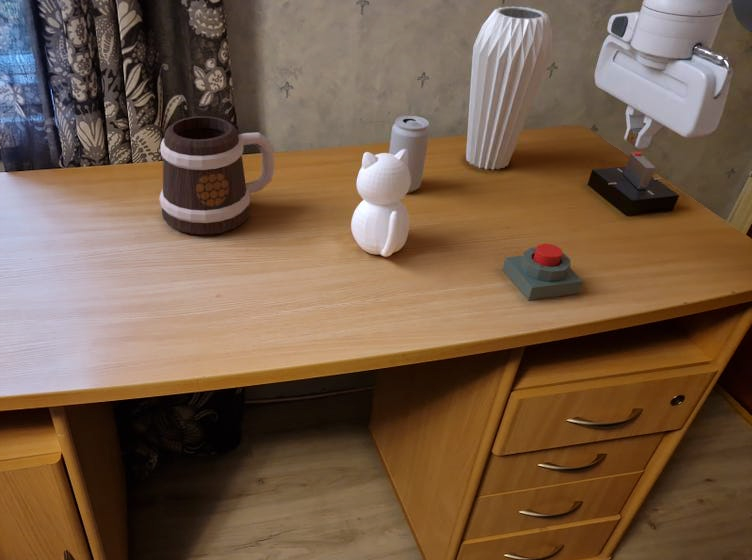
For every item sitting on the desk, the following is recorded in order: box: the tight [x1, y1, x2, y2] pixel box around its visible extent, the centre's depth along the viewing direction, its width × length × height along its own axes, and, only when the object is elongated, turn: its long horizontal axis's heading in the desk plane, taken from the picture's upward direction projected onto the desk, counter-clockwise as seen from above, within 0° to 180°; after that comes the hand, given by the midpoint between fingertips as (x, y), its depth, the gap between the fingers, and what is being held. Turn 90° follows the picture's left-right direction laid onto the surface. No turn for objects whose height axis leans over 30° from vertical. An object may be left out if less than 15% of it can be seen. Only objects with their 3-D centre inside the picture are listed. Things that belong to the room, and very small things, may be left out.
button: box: [533, 243, 564, 267], centre depth 97 cm, size 4×4×2 cm
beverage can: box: [388, 115, 431, 194], centre depth 119 cm, size 6×6×12 cm
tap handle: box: [623, 151, 656, 189], centre depth 117 cm, size 6×2×4 cm, turn 2°
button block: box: [501, 246, 584, 301], centre depth 99 cm, size 8×8×4 cm
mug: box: [158, 115, 275, 236], centre depth 110 cm, size 20×15×15 cm
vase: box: [465, 6, 553, 171], centre depth 123 cm, size 13×13×26 cm
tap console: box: [586, 165, 680, 217], centre depth 119 cm, size 12×10×3 cm
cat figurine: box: [350, 149, 411, 258], centre depth 102 cm, size 9×12×15 cm
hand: (635, 144), depth 91 cm, fingers closed
